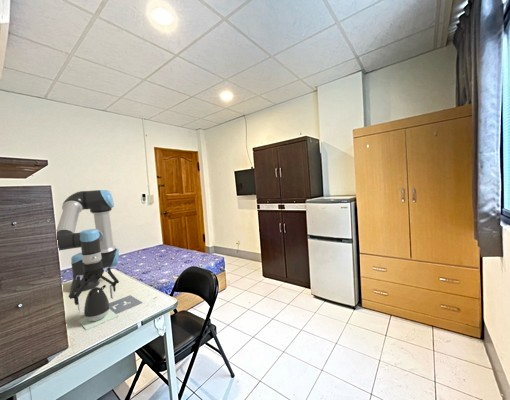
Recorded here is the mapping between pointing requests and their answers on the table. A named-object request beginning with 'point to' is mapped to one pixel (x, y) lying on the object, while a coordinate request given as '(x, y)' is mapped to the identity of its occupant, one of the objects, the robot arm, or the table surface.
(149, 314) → the table surface
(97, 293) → the pump dispenser
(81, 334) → the table surface
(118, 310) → the tile
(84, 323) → the mat
